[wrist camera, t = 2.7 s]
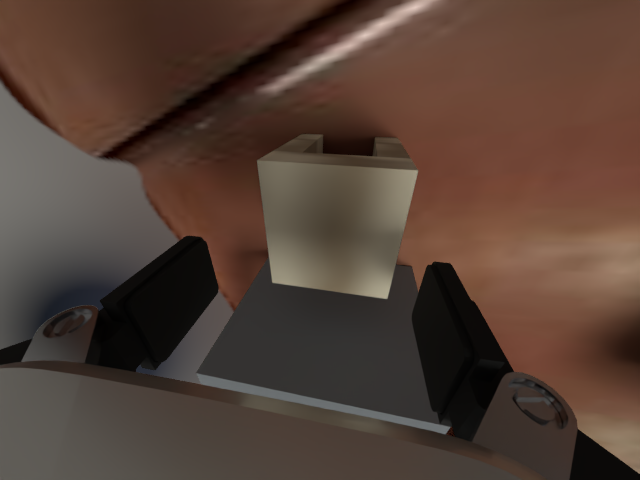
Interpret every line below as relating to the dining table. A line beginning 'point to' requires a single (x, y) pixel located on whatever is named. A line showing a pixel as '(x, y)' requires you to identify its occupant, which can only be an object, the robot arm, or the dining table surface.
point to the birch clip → (335, 214)
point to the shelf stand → (326, 350)
